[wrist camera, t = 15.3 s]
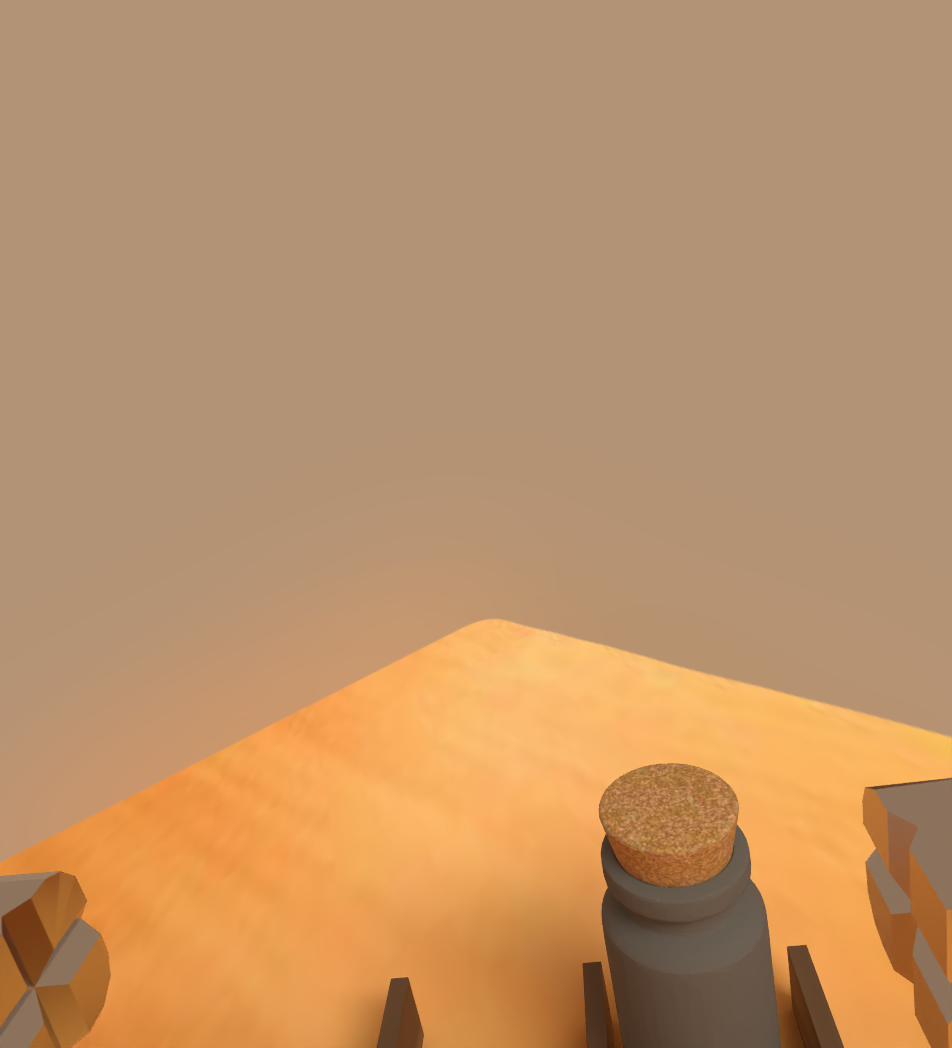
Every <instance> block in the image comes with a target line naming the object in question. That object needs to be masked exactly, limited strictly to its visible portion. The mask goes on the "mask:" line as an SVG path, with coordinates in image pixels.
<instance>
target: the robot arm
mask: <svg viewBox="0 0 952 1048" xmlns="http://www.w3.org/2000/svg"><path fill="white" fill-rule="evenodd" d="M862 803H863V824H864V826H865V828H866V830H867V831H868V833H869V835H870V837H871V839H872V841H873V843H874V845H875V847H876V849H875V851H874V852H873V853H872V855H871V856H870V857H869V858H868V860H867V861H866V862H865V863H866V874H867V886H868V894H869V899H870V903H871V908H872V912H873V917H874V921H875V925H876V927H877V930H878V933H879V936H880V939H881V941H882V944H883V947H884V949H885V951H886V953H887V956H888V958H889V960H890V962H891V964H892V967H893V969H894V971H896V972H897V973H899V974H900V975H902V976H903V977H904V978H906V979H907V980H909V981H910V982H912V983H913V984H914V1003H915V1015H916V1017H917V1019H918V1021H919V1024H920V1026H921V1028H922V1030H923V1032H924V1034H925V1036H926V1038H927V1040H928V1042H929V1044H930V1046H931V1048H952V778H946V779H937V780H928V781H919V782H910V783H901V784H892V785H882V786H873V787H865V790H864V795H863V801H862ZM86 902H87V900H86V898H85V895H84V893H83V891H82V889H81V887H80V885H79V883H78V881H77V879H76V877H75V876H73V875H70V874H67V873H64V872H61V871H59V872H46V873H34V874H21V875H9V876H0V1048H71V1047H72V1046H73V1045H75V1044H76V1043H77V1042H78V1041H79V1040H81V1039H82V1038H83V1037H84V1036H85V1035H87V1034H88V1033H89V1032H90V1031H91V1029H92V1027H93V1025H94V1023H95V1021H96V1019H97V1018H98V1016H99V1014H100V1012H101V1010H102V1008H103V1007H104V1003H105V999H106V994H107V989H108V985H109V980H110V966H109V956H108V951H107V948H106V946H105V943H104V941H103V938H102V936H101V934H100V933H99V932H98V931H96V930H95V929H94V928H93V927H91V926H90V925H89V924H87V923H86V922H85V921H83V920H82V919H81V916H82V914H83V911H84V908H85V905H86Z"/></svg>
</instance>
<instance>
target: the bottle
mask: <svg viewBox="0 0 952 1048" xmlns="http://www.w3.org/2000/svg"><path fill="white" fill-rule="evenodd" d="M738 813H739V805H738V800H737V797H736V795H735V793H734V791H733V790H732V788H731V787H730V786H729V785H728V784H727V783H726V782H725V781H724V780H723V779H721V778H720V777H719V776H717V775H715V774H714V773H712V772H710V771H707V770H705V769H702V768H699V767H695V766H690V765H686V764H673V763H670V764H656V765H650V766H645V767H641V768H638V769H635V770H633V771H631V772H628V773H626V774H625V775H623V776H621V777H619V778H618V779H617V780H615V781H614V782H613V783H612V784H611V785H610V786H609V787H608V788H607V789H606V791H605V792H604V794H603V796H602V798H601V801H600V804H599V817H600V821H601V823H602V825H603V828H604V830H605V832H606V835H605V837H604V840H603V843H602V847H601V860H602V867H603V873H604V877H605V880H606V883H607V886H608V888H607V890H606V892H605V895H604V898H603V903H602V924H603V931H604V937H605V944H606V950H607V956H608V961H609V967H610V973H611V979H612V984H613V990H614V996H615V1001H616V1007H617V1013H618V1019H619V1024H620V1030H621V1035H622V1041H623V1046H624V1048H781V1046H780V1035H779V1025H778V1015H777V1005H776V996H775V986H774V976H773V967H772V957H771V948H770V938H769V929H768V921H767V914H766V909H765V905H764V901H763V899H762V896H761V894H760V892H759V890H758V889H757V887H756V885H755V884H754V883H753V882H752V880H751V879H750V875H751V860H750V852H749V847H748V843H747V840H746V838H745V836H744V834H743V832H742V830H741V829H740V828H739V827H738V825H737V819H738Z"/></svg>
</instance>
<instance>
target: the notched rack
mask: <svg viewBox="0 0 952 1048" xmlns="http://www.w3.org/2000/svg"><path fill="white" fill-rule="evenodd" d="M787 952H788V963H789V973H790V984H791V995H792V1006H793V1011H794V1014H795V1017H796V1020H797V1023H798V1026H799V1029H800V1033H801V1036H802V1039H803V1042H804V1045H805V1048H844V1046H843V1044H842V1041H841V1038H840V1035H839V1033H838V1030H837V1027H836V1025H835V1022H834V1019H833V1016H832V1014H831V1011H830V1008H829V1005H828V1003H827V1000H826V997H825V995H824V992H823V989H822V986H821V984H820V981H819V978H818V976H817V973H816V970H815V967H814V965H813V962H812V959H811V957H810V954H809V951H808V948H807V946H806V945H800V946H788V947H787ZM583 976H584V995H585V1014H586V1033H587V1048H614V1043H613V1032H612V1020H611V1015H610V1009H609V1004H608V998H607V993H606V987H605V982H604V976H603V971H602V965H601V962H591V963H583ZM423 1037H424V1033H423V1030H422V1026H421V1022H420V1019H419V1015H418V1012H417V1008H416V1004H415V1001H414V997H413V993H412V990H411V986H410V982H409V979H408V977H406V978H394V979H391V982H390V987H389V992H388V997H387V1001H386V1006H385V1011H384V1016H383V1021H382V1026H381V1030H380V1035H379V1040H378V1045H377V1048H422V1043H423Z"/></svg>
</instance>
